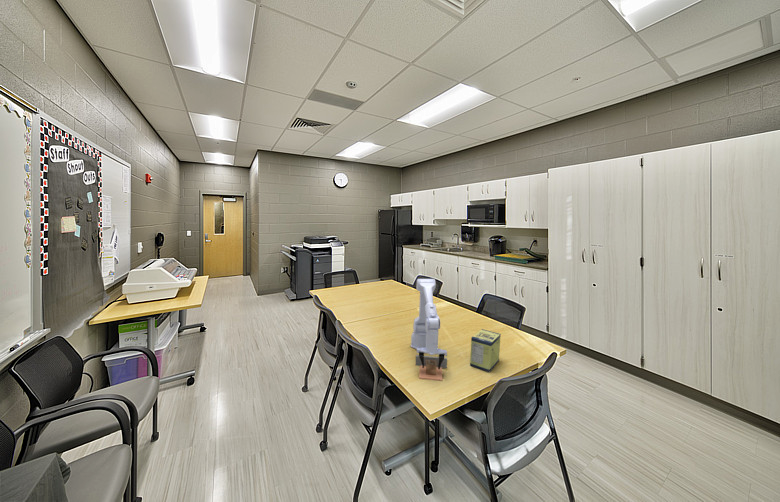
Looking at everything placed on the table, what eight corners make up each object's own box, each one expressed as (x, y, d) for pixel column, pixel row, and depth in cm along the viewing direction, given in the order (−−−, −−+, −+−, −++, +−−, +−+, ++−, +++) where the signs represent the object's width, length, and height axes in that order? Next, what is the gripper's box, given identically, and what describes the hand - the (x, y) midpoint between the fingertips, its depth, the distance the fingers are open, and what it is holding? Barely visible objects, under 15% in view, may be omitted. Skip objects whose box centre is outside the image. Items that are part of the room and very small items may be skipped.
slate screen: (415, 365, 147) (415, 356, 146) (415, 364, 148) (415, 355, 147) (446, 368, 144) (447, 359, 144) (446, 367, 145) (447, 357, 145)
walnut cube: (425, 374, 137) (426, 364, 136) (425, 369, 142) (426, 359, 141) (436, 375, 136) (436, 365, 136) (435, 370, 141) (436, 360, 141)
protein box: (499, 361, 153) (501, 333, 151) (489, 373, 141) (491, 343, 139) (480, 355, 159) (481, 328, 157) (469, 366, 147) (470, 337, 145)
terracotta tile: (419, 378, 134) (419, 377, 134) (420, 366, 145) (420, 365, 145) (442, 380, 133) (442, 379, 133) (441, 368, 144) (441, 367, 144)
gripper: (416, 343, 134) (415, 370, 136) (447, 346, 132) (446, 373, 134) (417, 337, 141) (416, 363, 143) (446, 339, 139) (445, 365, 141)
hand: (431, 367), depth 139 cm, fingers open, 7 cm apart
